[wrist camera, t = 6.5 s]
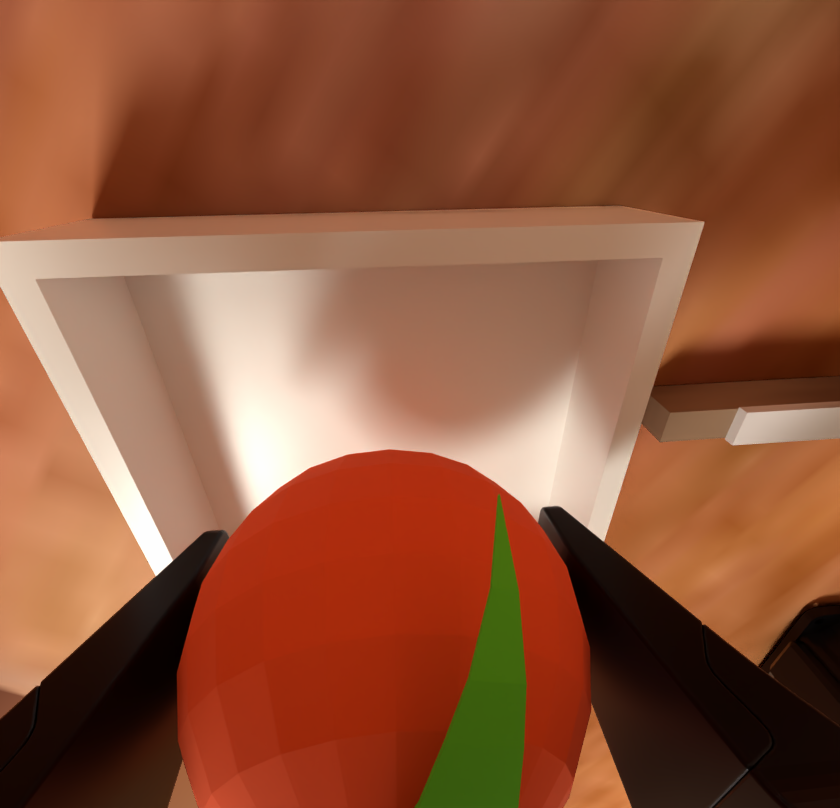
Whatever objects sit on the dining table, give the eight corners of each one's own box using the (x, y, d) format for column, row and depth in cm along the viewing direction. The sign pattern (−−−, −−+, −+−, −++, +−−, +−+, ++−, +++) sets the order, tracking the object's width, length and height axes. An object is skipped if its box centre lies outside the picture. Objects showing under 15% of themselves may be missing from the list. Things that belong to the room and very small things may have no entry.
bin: (620, 205, 10) (704, 221, 7) (547, 547, 16) (578, 621, 14) (90, 218, 9) (-24, 241, 7) (229, 573, 15) (199, 656, 13)
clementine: (273, 299, 8) (-123, 804, 2) (589, 382, 9) (988, 810, 3) (236, 570, 12) (73, 1032, 5) (466, 598, 13) (540, 985, 7)
